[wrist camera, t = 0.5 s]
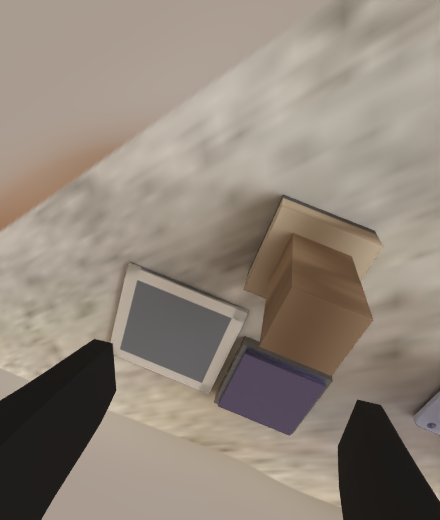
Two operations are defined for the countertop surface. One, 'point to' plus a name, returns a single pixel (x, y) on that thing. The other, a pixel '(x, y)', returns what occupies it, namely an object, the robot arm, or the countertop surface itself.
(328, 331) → the stamp
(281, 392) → the ink pad
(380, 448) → the robot arm
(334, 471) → the countertop surface
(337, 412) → the countertop surface
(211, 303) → the print mark
